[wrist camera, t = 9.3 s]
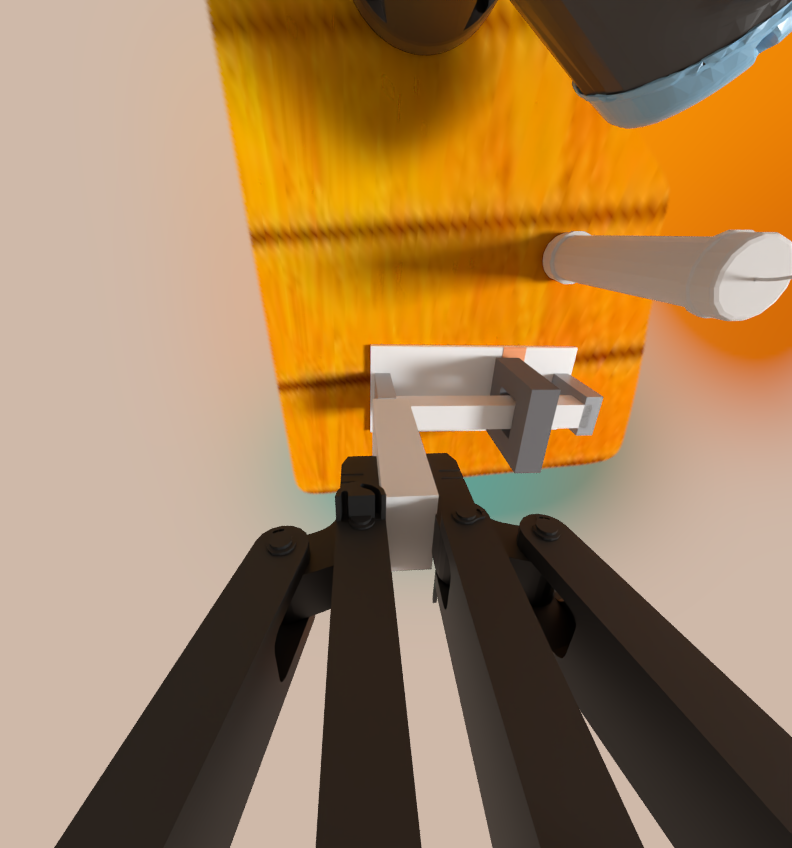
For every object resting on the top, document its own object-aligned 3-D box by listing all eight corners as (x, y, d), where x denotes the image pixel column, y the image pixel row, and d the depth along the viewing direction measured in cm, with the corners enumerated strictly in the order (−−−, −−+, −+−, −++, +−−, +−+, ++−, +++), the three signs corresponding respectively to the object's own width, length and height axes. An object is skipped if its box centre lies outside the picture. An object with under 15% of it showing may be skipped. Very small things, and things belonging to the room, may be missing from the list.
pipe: (550, 291, 46) (813, 369, 20) (530, 244, 44) (803, 261, 17) (591, 264, 45) (928, 307, 19) (573, 214, 43) (936, 182, 16)
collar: (495, 357, 47) (532, 389, 38) (518, 357, 48) (560, 389, 38) (484, 428, 52) (514, 473, 42) (505, 427, 52) (540, 472, 42)
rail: (370, 344, 47) (373, 367, 39) (574, 346, 50) (617, 368, 42) (370, 429, 53) (372, 465, 44) (554, 426, 55) (588, 460, 47)
